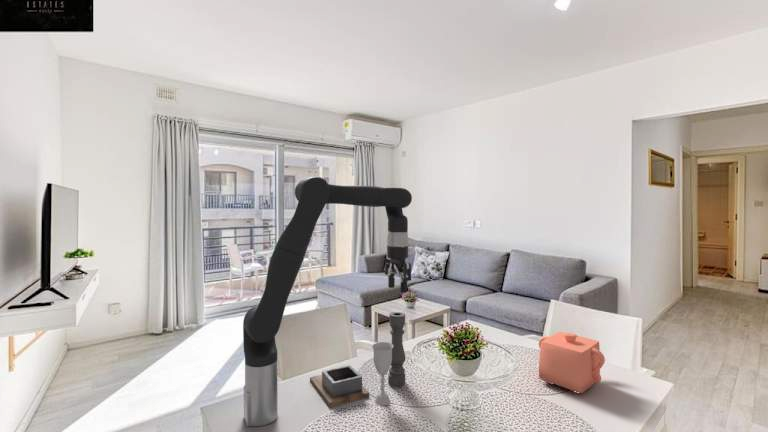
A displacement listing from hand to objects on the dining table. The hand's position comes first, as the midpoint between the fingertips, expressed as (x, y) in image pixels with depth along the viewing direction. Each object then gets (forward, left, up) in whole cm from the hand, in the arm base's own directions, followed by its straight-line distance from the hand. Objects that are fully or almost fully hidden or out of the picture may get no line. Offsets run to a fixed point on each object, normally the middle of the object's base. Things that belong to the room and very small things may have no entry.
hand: (397, 290), depth 135 cm
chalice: (-10, -8, -34) cm, 36 cm away
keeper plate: (-20, +6, -34) cm, 40 cm away
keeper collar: (-20, +3, -32) cm, 38 cm away
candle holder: (0, 0, -34) cm, 34 cm away
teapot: (+59, -28, -34) cm, 74 cm away
